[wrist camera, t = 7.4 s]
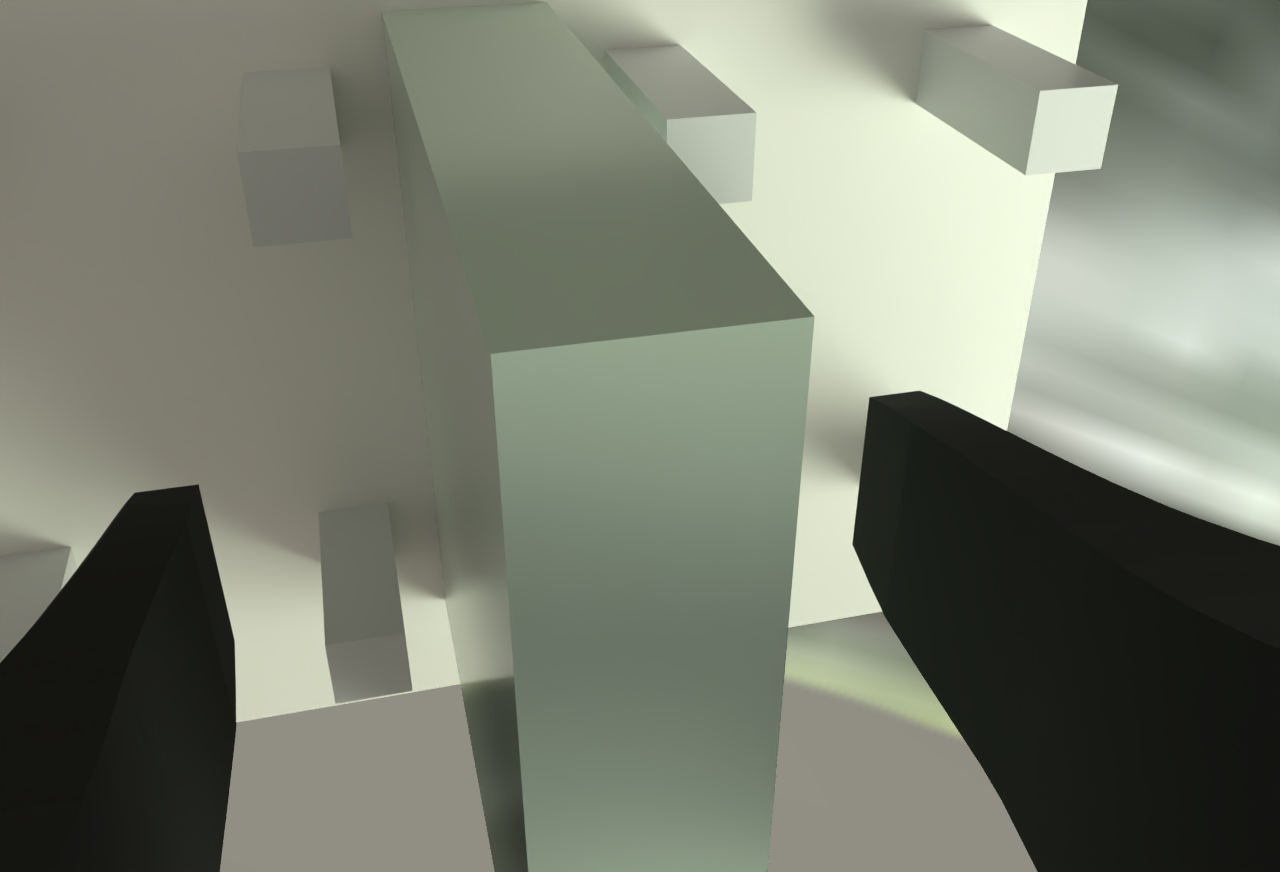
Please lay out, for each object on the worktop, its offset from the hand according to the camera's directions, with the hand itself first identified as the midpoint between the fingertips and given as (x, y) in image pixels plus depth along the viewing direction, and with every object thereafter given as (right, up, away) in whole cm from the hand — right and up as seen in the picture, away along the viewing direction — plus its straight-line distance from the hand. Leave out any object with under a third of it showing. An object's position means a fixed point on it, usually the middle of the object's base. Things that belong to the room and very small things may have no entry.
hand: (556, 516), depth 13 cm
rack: (-1, +3, +5) cm, 6 cm away
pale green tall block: (-1, +2, +4) cm, 5 cm away
